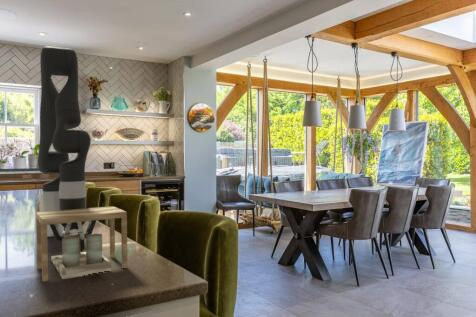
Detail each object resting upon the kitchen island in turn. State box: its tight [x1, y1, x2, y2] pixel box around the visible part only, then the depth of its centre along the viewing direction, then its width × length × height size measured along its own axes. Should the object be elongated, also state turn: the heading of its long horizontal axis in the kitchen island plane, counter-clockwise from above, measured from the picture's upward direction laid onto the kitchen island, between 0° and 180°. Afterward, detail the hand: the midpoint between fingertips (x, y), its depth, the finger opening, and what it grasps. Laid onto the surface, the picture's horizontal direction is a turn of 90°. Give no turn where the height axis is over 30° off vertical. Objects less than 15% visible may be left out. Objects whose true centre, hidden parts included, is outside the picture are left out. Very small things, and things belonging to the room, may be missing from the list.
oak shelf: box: [35, 206, 129, 283], centre depth 110 cm, size 14×21×16 cm, turn 122°
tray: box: [50, 232, 112, 280], centre depth 113 cm, size 22×12×9 cm, turn 32°
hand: (73, 252), depth 121 cm, fingers closed on tray, 3 cm apart
